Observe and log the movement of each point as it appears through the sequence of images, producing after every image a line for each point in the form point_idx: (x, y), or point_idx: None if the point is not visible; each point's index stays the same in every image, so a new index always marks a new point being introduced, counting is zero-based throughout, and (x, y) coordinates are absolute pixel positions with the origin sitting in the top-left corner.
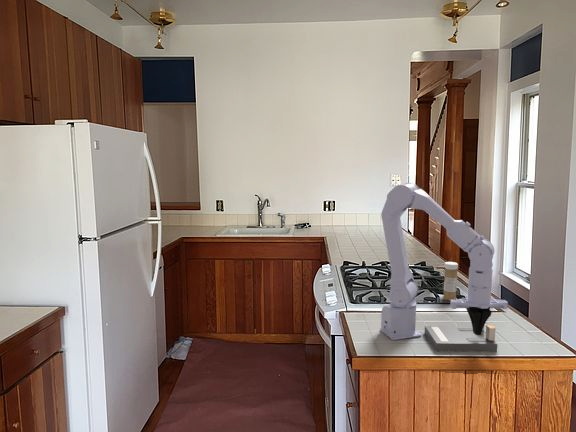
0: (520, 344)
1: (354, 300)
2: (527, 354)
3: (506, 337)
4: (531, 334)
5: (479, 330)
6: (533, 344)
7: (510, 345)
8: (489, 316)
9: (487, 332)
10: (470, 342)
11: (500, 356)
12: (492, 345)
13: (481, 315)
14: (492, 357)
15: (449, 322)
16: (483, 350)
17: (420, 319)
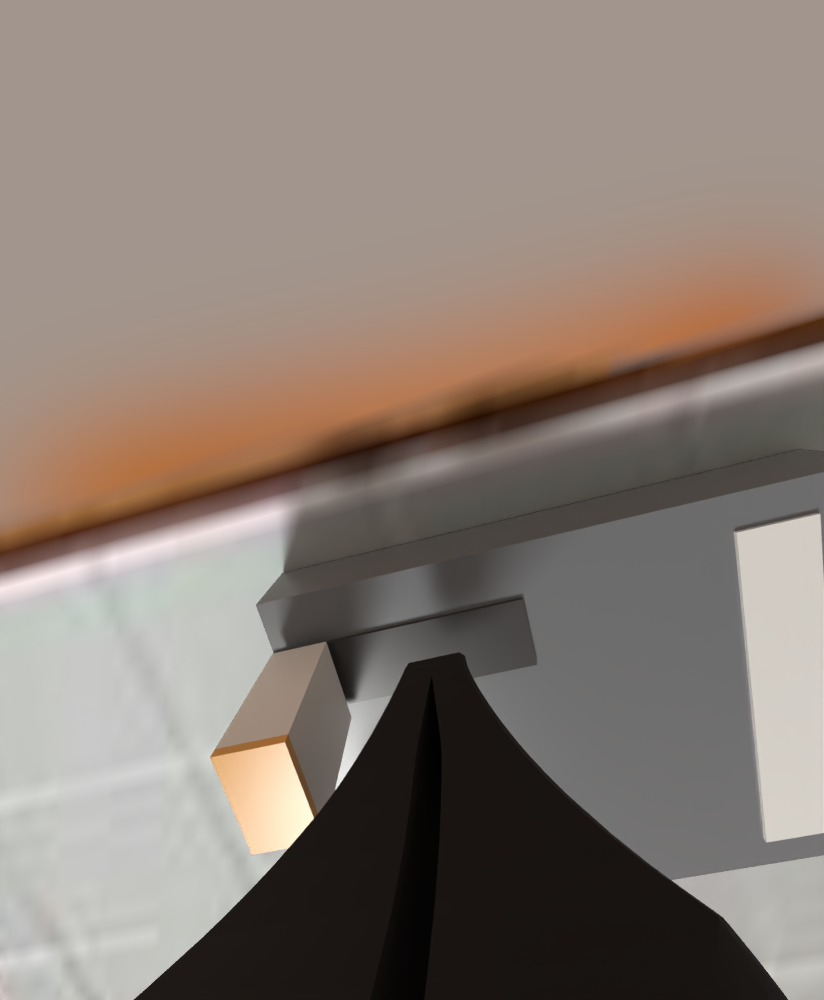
0: (106, 743)
1: None
2: (60, 584)
3: (196, 833)
4: (32, 911)
5: (427, 685)
6: (19, 763)
7: (176, 710)
8: (193, 947)
9: (326, 730)
10: (510, 571)
11: (262, 491)
12: (305, 587)
13: (407, 966)
14: (327, 453)
15: None
16: (388, 551)
17: (791, 997)
